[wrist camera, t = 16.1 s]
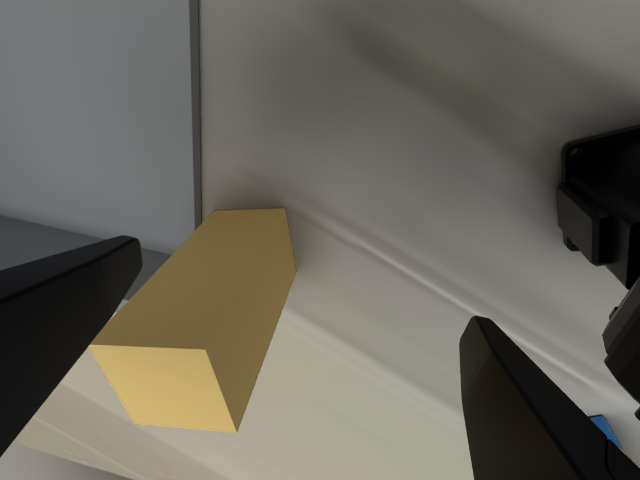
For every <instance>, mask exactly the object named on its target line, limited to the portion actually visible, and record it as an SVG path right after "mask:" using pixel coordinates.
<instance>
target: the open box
mask: <svg viewBox="0 0 640 480" xmlns="http://www.w3.org/2000/svg"><path fill="white" fill-rule="evenodd" d="M200 225H201V158H200V89H199V20H198V0H0V270H3V269H6V268H10V267H13V266H17V265H20V264H23V263H27V262H30V261H34V260H37V259H41V258H44V257H48V256H51V255H55V254H58V253H62V252H65V251H68V250H72V249H75V248H79V247H82V246H86V245H89V244H93V243H96V242H100V241H103V240H106V239H110V238H113V237H117V236H120V235H127V236H131V237H135V238H137V239H139V241H140V244H141V252H142V261H143V265H142V269H141V271H140V273H139V275H138V276H137V278H136V280H135V281H134V283H133V284H132V286H131V287H130V289H129V291H128V292H127V294H126V295H125V297H124V299H123V300H122V302H121V303H120V305H119V307H118V308H117V310H116V311H115V312H118V311H119V310H120V309H121V308H122V307H123V306H124V305H125V304H126V303H127V302H128V301H129V300H130V299H131V298H132V297H133V296H134V295H135V293H136V292H137V291H138V290H139V289H140V288H141V287H142V286H143V285H144V284H145V283H146V282H147V281H148V280H149V279H150V278H151V277H152V276H153V274H154V273H155V272H156V271H157V270H158V269H159V268H160V267H161V266H162V265H163V264H164V263H165V262H166V261H167V260H168V259H169V258H170V256H171V255H172V254H173V253H174V252H175V251H176V250H177V249H178V248H179V247H180V246H181V245H182V244H183V243H184V242H185V241H186V240H187V239H188V237H189V236H190V235H191V234H192V233H193V232H194V231H195V230H196V229H197V228H198V227H199V226H200Z"/></svg>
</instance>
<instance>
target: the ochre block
mask: <svg viewBox="0 0 640 480" xmlns="http://www.w3.org/2000/svg"><path fill="white" fill-rule="evenodd" d="M295 274H296V266H295V260H294V255H293V249H292V244H291V238H290V232H289V227H288V221H287V216H286V210H285V208H275V209H250V210H224V211H213V212H212V213H211V214H210V215H209V216H208V217H207V218H206V220H205V221H204V222H203V223H202V224H201V225H200V226H199V227H198V228H197V229H196V230H195V231H194V232H193V233H192V234H191V235H190V236H189V237H188V239H187V240H186V241H185V242H184V243H183V244H182V245H181V246H180V247H179V248H178V249H177V250H176V251H175V252H174V253H173V254H172V255H171V256H170V258H169V259H168V260H167V261H166V262H165V263H164V264H163V265H162V266H161V267H160V268H159V269H158V270H157V271H156V272H155V273H154V274H153V276H152V277H151V278H150V279H149V280H148V281H147V282H146V283H145V284H144V285H143V286H142V287H141V288H140V289H139V290H138V291H137V292H136V293H135V295H134V296H133V297H132V298H131V299H130V300H129V301H128V302H127V303H126V304H125V305H124V306H123V307H122V308H121V309H120V310H119V311H118V312H117V314H116V315H115V316H114V317H113V318H112V319H111V320H110V321H109V322H108V323H107V324H106V325H105V326H104V327H103V329H102V330H101V331H100V332H99V334H98V335H97V336H96V337H95V339H94V340H93V341H92V342H91V344H90V345H89V346H88V347H89V349H90V350H91V352H92V354H93V355H94V357H95V359H96V360H97V362H98V364H99V365H100V367H101V369H102V370H103V372H104V374H105V375H106V377H107V379H108V380H109V382H110V384H111V385H112V387H113V389H114V390H115V392H116V394H117V395H118V397H119V399H120V400H121V402H122V404H123V405H124V407H125V409H126V411H127V412H128V414H129V416H130V417H131V419H132V421H133V422H134V424H143V425H154V426H166V427H177V428H188V429H199V430H210V431H221V432H233V433H237V431H238V429H239V426H240V423H241V420H242V418H243V415H244V412H245V410H246V407H247V404H248V402H249V399H250V396H251V393H252V391H253V388H254V385H255V383H256V380H257V377H258V374H259V372H260V369H261V366H262V364H263V361H264V358H265V356H266V353H267V350H268V347H269V345H270V342H271V339H272V337H273V334H274V331H275V329H276V326H277V323H278V320H279V318H280V315H281V312H282V310H283V307H284V304H285V301H286V299H287V296H288V293H289V291H290V288H291V285H292V283H293V280H294V277H295Z"/></svg>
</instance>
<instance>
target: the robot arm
mask: <svg viewBox="0 0 640 480" xmlns="http://www.w3.org/2000/svg"><path fill="white" fill-rule="evenodd" d="M575 148H578V152H577V153H576V154H575V155H570V154H571V151H572V150H573V149H575ZM557 201H558V226H559V227H560V228H561V230H562V231H563V232H564V244H565V246H566V247H567V248H568V249H569V250H571V251H581V253H582V254H583V255H584V256H585V257H586V258H587V259H588V261H589V262H590V263H592V264H593V265H595V266H603V265H605V266H606V267H607V268H608V269H609V270H610V271H611V272H612V273H613V274H614V275H615V277H616V278H617V279H618V280H619V281H620V282H621V283H622V284H623V285H624V286H625V287H626V288H627V289H628V290H629V292H628V293H627V295H626V296H625V298H624V299H623V301H622V302H621V304H620V305H619V307H615V308H614V309H613V311H612V312H611V314H610V315H609V320H610V321H609V322H608V324H607V326H606V328H605V330H604V332H603V334H602V336H603V341H604V345H605V349H606V352H607V354H608V356H607V357H606V358H605V360H604V362H605V364H606V366H607V367H608V369H609V370H610V372H611V373H612V374H613V376H614V377H615V379H616V380H617V381H618V383H619V384H620V385H621V386H622V387H623V388H624V389H625V390H626V391H627V392H628V393H629V394H630V396H631V397H632V398H633V399H634V400H635V401H637V402H638V403H639V404H640V125H637V126H633V127H629V128H625V129H621V130H617V131H613V132H609V133H605V134H601V135H597V136H593V137H589V138H584V139H580V140H576V141H572V142H570V143H568V144H567V145H566V146H565V147H564V148H563V150H562V183H560V185H559V186H558V187H557ZM572 242H573V243H574V244H572ZM142 265H143V261H142V252H141V244H140V241H139V239H137V238H135V237H131V236H127V235H120V236H117V237H113V238H110V239H106V240H103V241H100V242H96V243H93V244H89V245H86V246H82V247H79V248H75V249H72V250H68V251H65V252H62V253H58V254H55V255H51V256H48V257H44V258H41V259H37V260H34V261H30V262H27V263H23V264H20V265H17V266H13V267H10V268H6V269H3V270H0V457H1V456H2V455H3V453H4V452H5V451H6V450H7V448H8V447H9V446H10V444H11V443H12V442H13V441H14V439H15V438H16V437H17V436H18V434H19V433H20V432H21V431H22V429H23V428H24V427H25V426H26V424H27V423H28V422H29V421H30V419H31V418H32V417H33V416H34V414H35V413H36V412H37V411H38V409H39V408H40V407H41V405H42V404H43V403H44V402H45V400H46V399H47V398H48V397H49V395H50V394H51V393H52V392H53V390H54V389H55V388H56V387H57V385H58V384H59V383H60V382H61V380H62V379H63V378H64V376H65V375H66V374H67V373H68V371H69V370H70V369H71V368H72V366H73V365H74V364H75V363H76V361H77V360H78V359H79V358H80V356H81V355H82V354H83V353H84V351H85V350H86V349H87V348H88V346H89V345H90V344H91V342H92V341H93V340H94V339H95V337H96V336H97V335H98V334H99V332H100V331H101V330H102V329H103V327H104V326H105V325H106V324H107V322H108V321H109V320H110V318H111V317H112V316H113V314H114V313H115V311H116V310H117V308H118V307H119V305H120V303H121V302H122V300H123V299H124V297H125V295H126V294H127V292H128V291H129V289H130V287H131V286H132V284H133V283H134V281H135V280H136V278H137V276H138V275H139V273H140V271H141V269H142ZM459 350H460V374H461V395H462V405H463V412H464V419H465V425H466V431H467V437H468V444H469V450H470V456H471V462H472V468H473V475H474V480H640V468H639V467H638V466H637V465H636V464H635V463H634V462H633V461H631V460H630V459H629V458H628V457H627V456H626V455H625V454H624V453H623V452H622V451H621V450H620V449H619V448H618V447H617V445H616V444H615V443H614V442H613V441H612V440H610V439H607V436H606V435H605V434H604V433H603V432H602V431H601V430H600V429H599V428H598V426H597V425H596V424H595V423H594V422H593V421H592V420H591V419H590V418H589V417H588V416H587V415H586V414H585V413H584V412H583V411H582V410H581V409H580V408H579V407H578V406H577V405H576V404H575V403H574V402H573V401H572V400H571V399H570V398H569V397H568V396H567V395H566V394H565V393H564V392H563V391H562V390H561V389H560V388H559V387H558V386H557V385H556V384H555V383H554V382H553V381H552V380H551V379H550V378H549V377H548V376H547V375H546V374H545V373H544V372H543V371H542V370H541V369H540V368H539V367H538V366H537V365H536V364H535V363H534V362H533V361H532V360H531V359H530V358H529V357H528V356H527V355H526V354H525V353H524V352H523V351H522V350H521V349H520V348H519V347H518V346H517V345H516V344H515V343H514V342H513V341H512V340H511V339H510V338H509V337H508V336H507V335H506V334H505V333H504V332H503V331H502V330H501V329H500V328H499V327H498V326H497V325H496V324H495V323H494V322H493V321H492V320H491V319H489V318H485V317H481V316H473V317H472V318H471V319H470V321H469V323H468V325H467V327H466V329H465V331H464V332H463V334H462V336H461V339H460V344H459ZM635 416H636V417H637V419H638V420H640V407H639V408H638V409H637V411H636V412H635Z"/></svg>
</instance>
